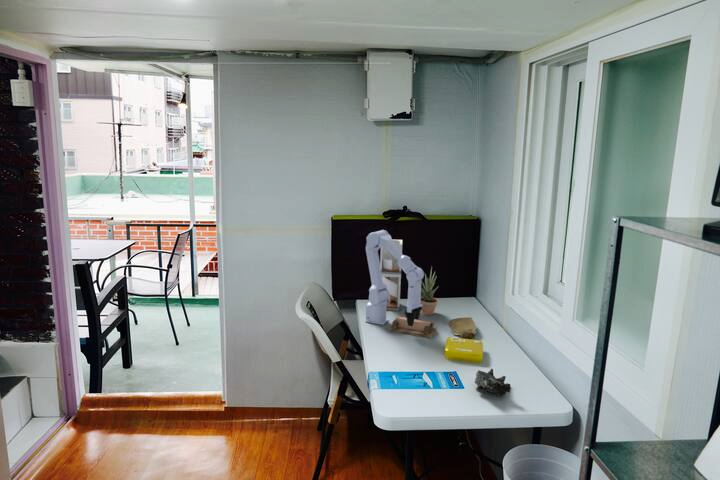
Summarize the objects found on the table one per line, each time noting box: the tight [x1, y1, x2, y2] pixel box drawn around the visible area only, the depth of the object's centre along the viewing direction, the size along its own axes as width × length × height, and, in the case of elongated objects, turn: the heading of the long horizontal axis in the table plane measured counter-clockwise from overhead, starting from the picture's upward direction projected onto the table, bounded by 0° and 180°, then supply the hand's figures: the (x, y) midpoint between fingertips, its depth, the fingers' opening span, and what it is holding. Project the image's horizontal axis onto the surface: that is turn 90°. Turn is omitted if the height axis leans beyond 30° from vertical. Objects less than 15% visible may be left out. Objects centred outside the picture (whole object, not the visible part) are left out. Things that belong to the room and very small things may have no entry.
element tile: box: [444, 336, 484, 364], centre depth 205 cm, size 15×15×5 cm
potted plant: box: [420, 266, 439, 316], centre depth 251 cm, size 10×10×25 cm
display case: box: [379, 239, 403, 312], centre depth 258 cm, size 11×11×35 cm
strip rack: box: [387, 315, 437, 339], centre depth 229 cm, size 20×10×4 cm, turn 66°
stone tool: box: [448, 316, 478, 340], centre depth 230 cm, size 12×4×25 cm
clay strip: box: [394, 315, 430, 331], centre depth 228 cm, size 16×2×4 cm, turn 66°
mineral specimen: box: [474, 368, 512, 397], centre depth 174 cm, size 15×13×10 cm
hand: (412, 322), depth 228 cm, fingers open, 7 cm apart
